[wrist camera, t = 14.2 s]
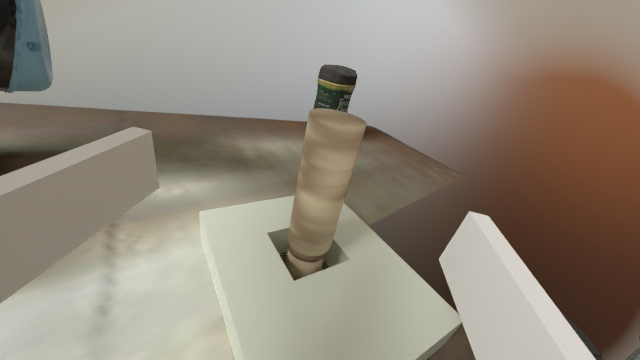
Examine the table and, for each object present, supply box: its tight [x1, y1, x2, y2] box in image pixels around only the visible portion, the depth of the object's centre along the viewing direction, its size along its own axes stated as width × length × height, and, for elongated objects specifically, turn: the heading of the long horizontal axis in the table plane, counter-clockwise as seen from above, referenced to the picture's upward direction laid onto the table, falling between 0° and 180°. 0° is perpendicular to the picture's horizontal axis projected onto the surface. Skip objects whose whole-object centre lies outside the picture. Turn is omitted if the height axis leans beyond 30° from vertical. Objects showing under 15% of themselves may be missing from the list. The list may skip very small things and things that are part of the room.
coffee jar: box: [314, 65, 357, 113], centre depth 64 cm, size 10×8×19 cm
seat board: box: [199, 195, 462, 360], centre depth 26 cm, size 22×18×4 cm
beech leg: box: [285, 108, 366, 281], centre depth 24 cm, size 5×5×18 cm
